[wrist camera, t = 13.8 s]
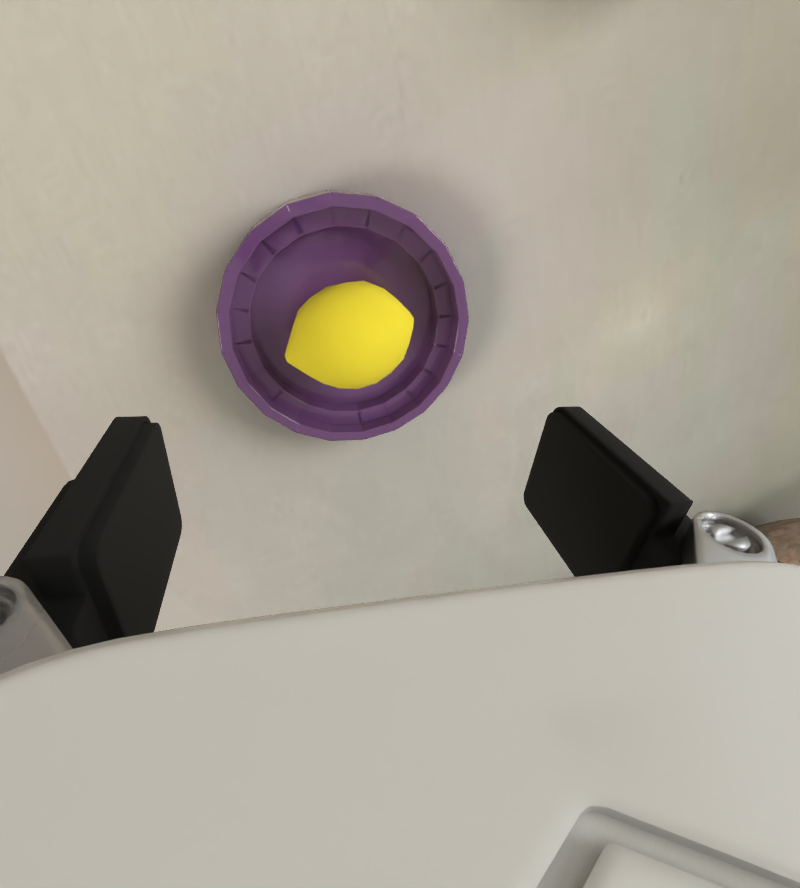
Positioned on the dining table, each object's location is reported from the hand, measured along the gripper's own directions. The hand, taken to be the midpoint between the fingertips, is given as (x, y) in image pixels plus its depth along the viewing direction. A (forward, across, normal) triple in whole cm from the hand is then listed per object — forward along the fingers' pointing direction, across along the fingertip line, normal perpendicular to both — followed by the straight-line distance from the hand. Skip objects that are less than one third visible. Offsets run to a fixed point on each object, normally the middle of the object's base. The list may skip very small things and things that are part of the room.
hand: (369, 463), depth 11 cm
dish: (+17, -1, +2) cm, 17 cm away
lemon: (+16, -1, +2) cm, 17 cm away
